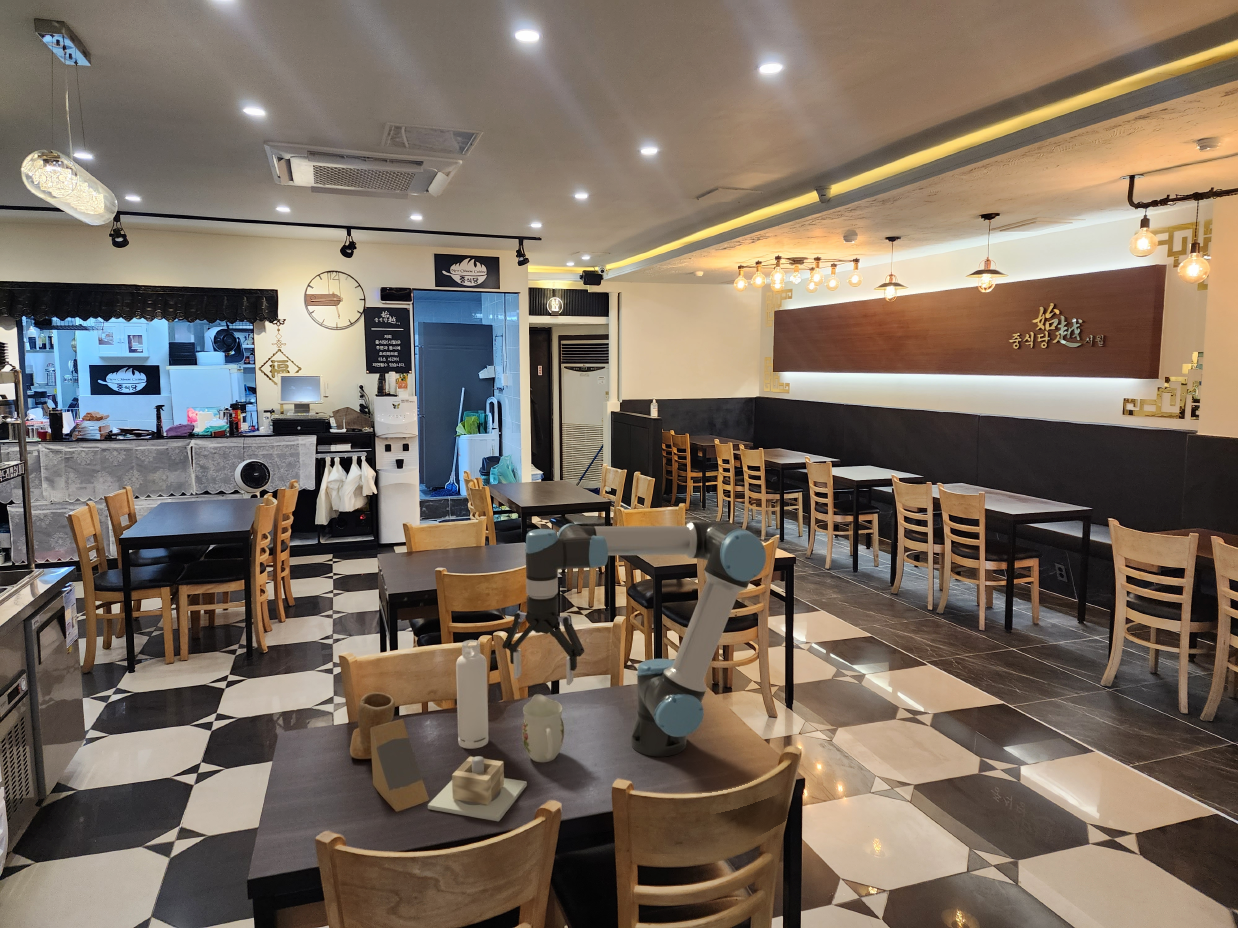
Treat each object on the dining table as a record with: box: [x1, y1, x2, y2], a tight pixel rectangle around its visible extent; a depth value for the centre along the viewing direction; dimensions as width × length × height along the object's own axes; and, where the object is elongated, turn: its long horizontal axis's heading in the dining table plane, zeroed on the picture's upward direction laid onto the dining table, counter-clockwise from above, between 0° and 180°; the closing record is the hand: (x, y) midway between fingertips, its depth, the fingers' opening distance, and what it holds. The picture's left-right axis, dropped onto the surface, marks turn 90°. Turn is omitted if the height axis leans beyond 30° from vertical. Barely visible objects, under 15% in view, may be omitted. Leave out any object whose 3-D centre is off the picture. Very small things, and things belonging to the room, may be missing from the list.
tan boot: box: [349, 691, 396, 760], centre depth 211 cm, size 15×12×15 cm
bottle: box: [455, 639, 489, 750], centre depth 214 cm, size 8×8×28 cm
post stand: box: [427, 756, 528, 822], centre depth 187 cm, size 18×16×10 cm
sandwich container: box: [370, 718, 430, 812], centre depth 189 cm, size 9×15×15 cm, turn 37°
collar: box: [451, 756, 505, 805], centre depth 187 cm, size 9×9×6 cm
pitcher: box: [521, 693, 565, 763], centre depth 206 cm, size 11×18×14 cm, turn 16°
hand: (543, 679), depth 191 cm, fingers open, 13 cm apart
